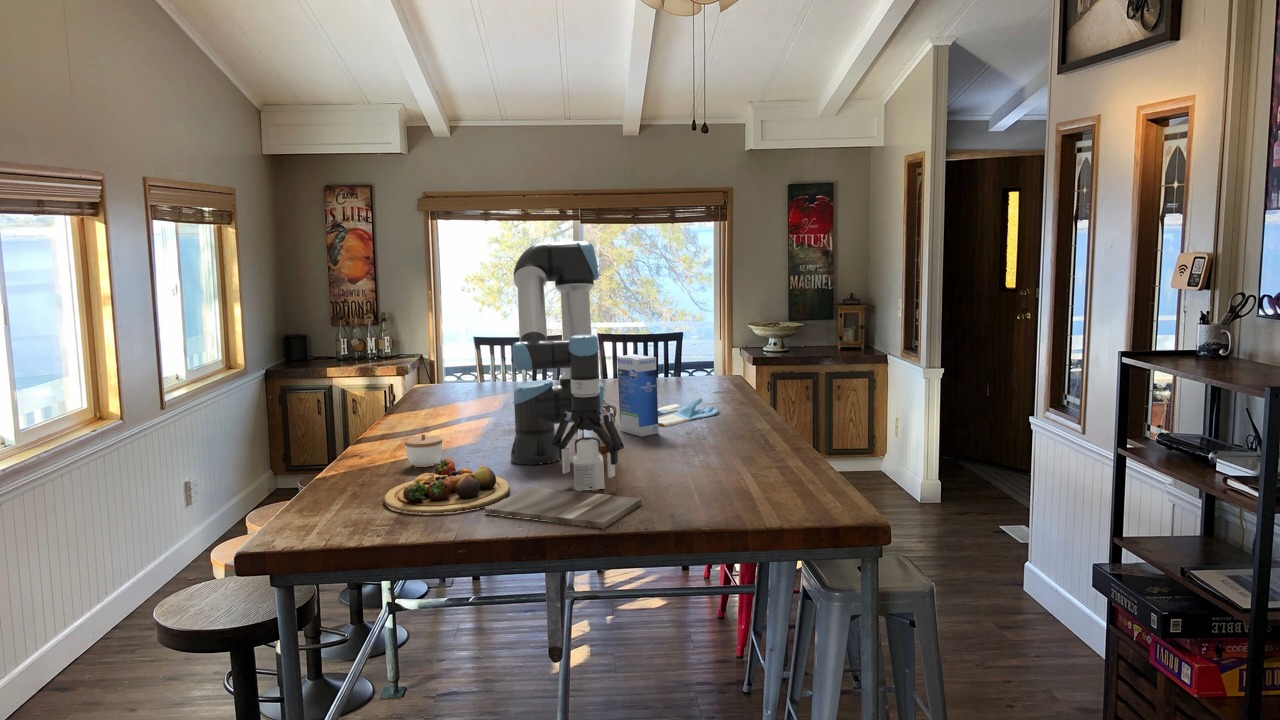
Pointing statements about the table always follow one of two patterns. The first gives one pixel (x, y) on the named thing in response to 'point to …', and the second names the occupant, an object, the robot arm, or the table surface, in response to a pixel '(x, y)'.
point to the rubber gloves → (684, 413)
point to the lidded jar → (424, 450)
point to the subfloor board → (565, 507)
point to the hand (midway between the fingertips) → (588, 474)
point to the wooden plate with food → (448, 490)
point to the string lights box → (638, 394)
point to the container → (588, 464)
